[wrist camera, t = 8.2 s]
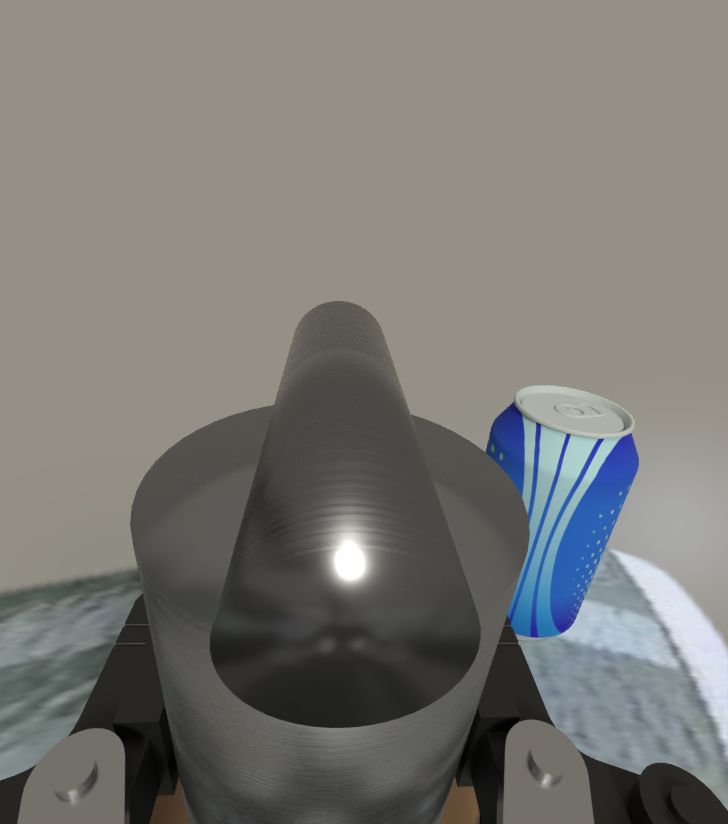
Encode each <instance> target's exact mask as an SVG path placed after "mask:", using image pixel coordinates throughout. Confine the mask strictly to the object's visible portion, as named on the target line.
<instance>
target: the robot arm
mask: <svg viewBox="0 0 728 824" xmlns="http://www.w3.org/2000/svg"><path fill="white" fill-rule="evenodd" d="M455 778H456V783H457V787H472V786H473V787H474V791H475V795H476V800H477V804H478V808H479V809H478V812H477V815H476V821H475V824H728V810H727V809H726V808H725V807H724V805H723V804H722V803H721V802H720V800H719V799H718V798H717V797H716V796H715V795H714V793H713V792H712V791H711V790H710V789H709V788H708V787H707V786H706V785H705V784H704V783H702V782H701V781H700V780H699V779H697V778H696V777H695V776H693V775H692V774H690V773H689V772H687V771H685V770H683V769H681V768H680V767H677V766H674V765H672V764H667V763H654V764H651V765H649V766H647V767H646V768H645V769H644V770H643V772H642V773H641V775H638V774H636V773H633V772H630V771H627V770H624V769H621V768H618V767H615V766H612V765H609V764H606V763H604V762H601V761H598V760H595V759H593V758H591V757H589V756H587V755H585V754H583V753H582V752H580V751H579V750H578V749H577V748H576V747H575V745H574V744H573V743H572V742H571V740H570V739H569V738H568V737H567V736H566V735H565V734H563V733H562V732H561V731H560V730H558V729H557V728H556V727H555V726H554V724H553V722H552V721H551V719H550V717H549V715H548V713H547V710H546V708H545V705H544V703H543V700H542V698H541V696H540V693H539V691H538V688H537V686H536V683H535V681H534V678H533V676H532V674H531V671H530V669H529V666H528V664H527V661H526V659H525V657H524V654H523V652H522V649H521V647H520V646H519V645H518V639H517V637H516V635H515V632H514V630H513V628H511V622H510V620H509V617H508V615H507V617H506V620H505V623H504V626H503V629H502V632H501V636H500V639H499V642H498V645H497V648H496V651H495V654H494V657H493V660H492V663H491V666H490V669H489V673H488V676H487V679H486V682H485V685H484V688H483V691H482V694H481V697H480V700H479V703H478V707H477V710H476V713H475V716H474V719H473V722H472V725H471V728H470V731H469V734H468V737H467V740H466V744H465V747H464V750H463V753H462V756H461V759H460V762H459V765H458V768H457V771H456V774H455ZM178 779H179V773H178V768H177V763H176V758H175V753H174V748H173V743H172V738H171V733H170V728H169V723H168V718H167V713H166V708H165V703H164V698H163V693H162V687H161V682H160V677H159V672H158V667H157V662H156V657H155V652H154V647H153V642H152V637H151V632H150V627H149V622H148V617H147V612H146V607H145V602H144V597H143V594H142V595H141V596H140V597H139V598H138V599H137V600H136V601H135V603H134V606H133V608H132V610H131V612H130V614H129V616H128V618H127V620H126V622H125V627H123V628H122V631H121V633H120V635H119V637H118V639H117V641H116V646H114V647H113V649H112V651H111V653H110V656H109V658H108V660H107V662H106V664H105V666H104V668H103V670H102V672H101V674H100V676H99V678H98V681H97V683H96V685H95V687H94V689H93V691H92V693H91V695H90V697H89V699H88V701H87V703H86V706H85V708H84V710H83V712H82V714H81V716H80V718H79V720H78V722H77V724H76V725H75V727H74V729H73V730H72V732H71V733H70V734H69V736H68V737H67V738H65V739H64V740H62V741H61V742H59V743H58V744H57V745H55V746H54V747H53V748H52V749H51V750H50V751H48V752H47V753H46V754H45V755H44V757H43V758H42V759H41V760H40V761H39V762H38V764H37V765H35V766H33V767H32V768H30V769H28V770H26V771H24V772H22V773H20V774H17V775H15V776H12V777H9V778H6V779H4V780H1V781H0V824H149V822H150V819H151V815H152V812H153V809H154V805H155V802H156V798H157V796H161V795H174V794H175V790H176V786H177V782H178Z"/></svg>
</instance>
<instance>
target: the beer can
mask: <svg viewBox="0 0 728 824" xmlns="http://www.w3.org/2000/svg"><path fill="white" fill-rule="evenodd" d="M634 426H635V422H634V419H633V417H632V416H631V415H630V414H629V413H628V412H627V411H626V410H625V409H623V408H622V407H620V406H619V405H617V404H615V403H614V402H611V401H610V400H607V399H605V398H603V397H600V396H597V395H595V394H592V393H588V392H585V391H581V390H577V389H572V388H567V387H560V386H549V385H539V386H530V387H526V388H523V389H520V390H519V391H518V392H517V393H516V394H515V397H514V402H513V403H512V404H511V405H510V406H509V407H508V408H507V409H506V410H504V411H503V412H502V413H501V414H500V415H499V416H498V417H497V418H496V419H495V421H494V422H493V425H492V427H491V432H490V436H489V440H488V444H487V449H486V454H487V455H489V456H490V457H491V458H492V459H493V460H495V461H496V462H497V464H498V465H499V466H500V467H501V468H502V469H503V470H504V471H505V472H506V473H507V475H508V476H509V477H510V479H511V480H512V482H513V483H514V484H515V486H516V487H517V489H518V491H519V493H520V495H521V497H522V499H523V501H524V504H525V508H526V511H527V514H528V519H529V529H530V537H529V546H528V552H527V555H526V558H525V562H524V565H523V568H522V571H521V574H520V577H519V580H518V583H517V586H516V589H515V592H514V595H513V599H512V602H511V605H510V608H509V611H508V614H507V615H508V617H509V620H510V622H511V628H513V630H514V632H515V635H516V637H517V639H518V640H524V641H535V640H541V639H544V638H550V637H554V636H557V635H560V634H562V633H564V632H565V631H566V630H568V629H569V628H570V627H571V626H572V624H573V623H574V621H575V619H576V617H577V614H578V612H579V609H580V607H581V605H582V602H583V600H584V597H585V595H586V593H587V590H588V588H589V585H590V583H591V581H592V578H593V576H594V573H595V571H596V569H597V566H598V564H599V561H600V559H601V557H602V554H603V552H604V549H605V547H606V545H607V542H608V540H609V537H610V535H611V533H612V530H613V528H614V525H615V523H616V521H617V518H618V516H619V513H620V511H621V509H622V506H623V504H624V501H625V499H626V496H627V494H628V492H629V489H630V487H631V484H632V482H633V480H634V477H635V475H636V473H637V470H638V466H639V458H638V454H637V451H636V447H635V444H634V441H633V437H632V434H631V432H632V430H633V429H634Z"/></svg>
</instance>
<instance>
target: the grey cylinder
mask: <svg viewBox="0 0 728 824" xmlns="http://www.w3.org/2000/svg"><path fill="white" fill-rule="evenodd" d="M130 526H131V533H132V539H133V545H134V551H135V556H136V561H137V566H138V571H139V576H140V581H141V586H142V591H143V597H144V602H145V607H146V612H147V617H148V622H149V627H150V632H151V637H152V642H153V647H154V652H155V657H156V662H157V667H158V672H159V677H160V682H161V687H162V693H163V698H164V703H165V708H166V713H167V718H168V723H169V728H170V733H171V738H172V743H173V748H174V753H175V758H176V763H177V768H178V773H179V778H180V784H181V789H182V794H183V799H184V804H185V809H186V814H187V819H188V824H440V821H441V818H442V814H443V811H444V808H445V805H446V802H447V799H448V796H449V793H450V790H451V787H452V784H453V781H454V777H455V774H456V771H457V768H458V765H459V762H460V759H461V756H462V753H463V750H464V747H465V744H466V740H467V737H468V734H469V731H470V728H471V725H472V722H473V719H474V716H475V713H476V710H477V707H478V703H479V700H480V697H481V694H482V691H483V688H484V685H485V682H486V679H487V676H488V673H489V669H490V666H491V663H492V660H493V657H494V654H495V651H496V648H497V645H498V642H499V639H500V636H501V632H502V629H503V626H504V623H505V620H506V617H507V614H508V611H509V608H510V605H511V602H512V599H513V595H514V592H515V589H516V586H517V583H518V580H519V577H520V574H521V571H522V568H523V565H524V562H525V558H526V555H527V552H528V546H529V537H530V529H529V519H528V514H527V511H526V508H525V504H524V501H523V499H522V497H521V495H520V493H519V491H518V489H517V487H516V486H515V484H514V483H513V482H512V480H511V479H510V477H509V476H508V475H507V473H506V472H505V471H504V470H503V469H502V468H501V467H500V466H499V465H498V464H497V462H496V461H495V460H493V459H492V458H491V457H490V456H489V455H487V454H486V453H485V452H484V451H483V450H481V449H480V448H479V447H477V446H476V445H474V444H473V443H471V442H470V441H469V440H467V439H465V438H463V437H462V436H460V435H458V434H456V433H455V432H453V431H451V430H448V429H446V428H444V427H442V426H440V425H438V424H436V423H433V422H430V421H428V420H425V419H423V418H420V417H417V416H413V415H411V414H410V412H409V409H408V406H407V403H406V400H405V397H404V394H403V391H402V388H401V385H400V382H399V379H398V376H397V373H396V370H395V367H394V364H393V361H392V358H391V355H390V352H389V350H388V346H387V344H386V341H385V338H384V335H383V332H382V329H381V327H380V325H379V323H378V322H377V320H376V319H375V318H374V317H373V316H372V315H371V314H370V313H369V312H368V311H367V310H365V309H364V308H362V307H360V306H358V305H356V304H353V303H349V302H343V301H334V302H328V303H324V304H321V305H319V306H317V307H315V308H313V309H312V310H310V311H309V312H308V313H307V314H306V315H305V316H304V317H303V318H302V319H301V321H300V322H299V324H298V326H297V328H296V331H295V333H294V337H293V340H292V344H291V347H290V351H289V354H288V358H287V362H286V365H285V369H284V372H283V376H282V379H281V383H280V387H279V391H278V394H277V397H276V401H275V404H274V405H273V406H267V407H262V408H258V409H253V410H249V411H245V412H242V413H238V414H235V415H232V416H229V417H226V418H224V419H221V420H218V421H215V422H213V423H211V424H209V425H207V426H205V427H203V428H200V429H198V430H197V431H195V432H193V433H192V434H190V435H188V436H187V437H185V438H183V439H182V440H180V441H179V442H178V443H176V444H175V445H174V446H172V447H171V448H170V449H168V450H167V451H166V452H165V453H164V454H163V455H162V456H161V457H160V458H159V459H158V460H157V461H156V462H155V463H154V464H153V466H152V467H151V468H150V470H149V471H148V472H147V473H146V475H145V477H144V478H143V480H142V482H141V484H140V486H139V488H138V489H137V492H136V495H135V498H134V501H133V505H132V511H131V522H130Z"/></svg>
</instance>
